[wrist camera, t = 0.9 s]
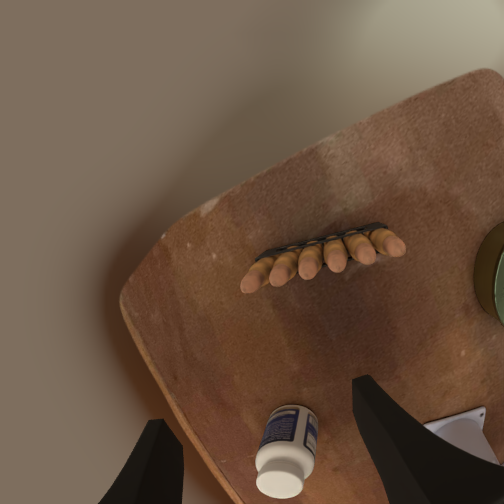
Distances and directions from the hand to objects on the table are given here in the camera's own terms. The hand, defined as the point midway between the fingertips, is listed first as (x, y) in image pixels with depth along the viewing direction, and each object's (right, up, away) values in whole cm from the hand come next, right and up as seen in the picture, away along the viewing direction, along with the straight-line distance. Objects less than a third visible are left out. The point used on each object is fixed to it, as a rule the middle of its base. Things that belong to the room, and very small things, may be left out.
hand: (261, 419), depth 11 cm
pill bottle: (+4, -12, +20) cm, 24 cm away
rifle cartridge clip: (+6, +7, +18) cm, 20 cm away
